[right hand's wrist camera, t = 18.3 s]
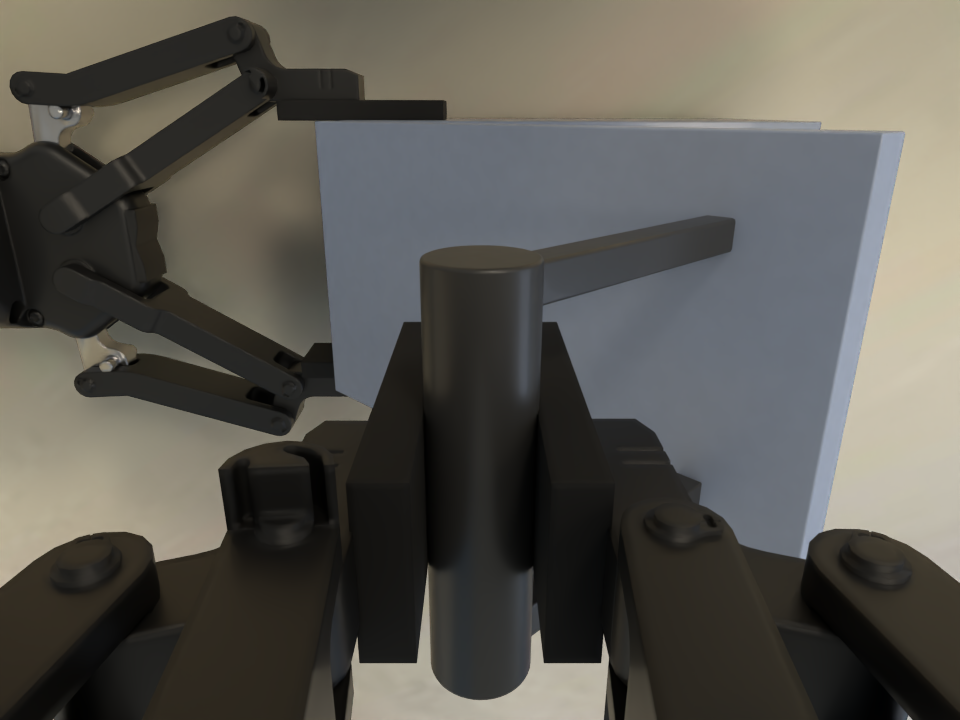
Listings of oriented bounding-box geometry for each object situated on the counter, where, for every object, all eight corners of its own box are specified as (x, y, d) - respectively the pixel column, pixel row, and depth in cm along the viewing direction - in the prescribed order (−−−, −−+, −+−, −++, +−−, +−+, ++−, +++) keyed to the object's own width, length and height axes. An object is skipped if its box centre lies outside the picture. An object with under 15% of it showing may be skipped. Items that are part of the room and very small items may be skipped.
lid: (906, 131, 12) (620, 149, 6) (810, 589, 16) (569, 876, 10) (344, 120, 24) (64, 123, 18) (361, 382, 28) (129, 455, 22)
